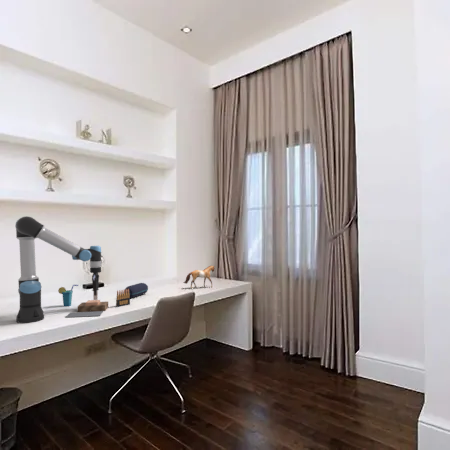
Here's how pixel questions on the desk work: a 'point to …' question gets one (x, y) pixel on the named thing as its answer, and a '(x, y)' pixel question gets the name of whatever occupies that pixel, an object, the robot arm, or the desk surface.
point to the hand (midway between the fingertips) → (95, 299)
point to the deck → (92, 307)
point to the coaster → (92, 302)
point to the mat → (84, 314)
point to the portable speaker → (137, 289)
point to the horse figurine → (200, 275)
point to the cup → (66, 295)
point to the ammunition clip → (122, 298)
